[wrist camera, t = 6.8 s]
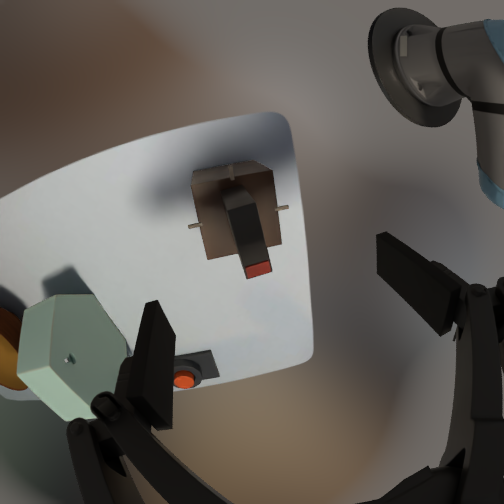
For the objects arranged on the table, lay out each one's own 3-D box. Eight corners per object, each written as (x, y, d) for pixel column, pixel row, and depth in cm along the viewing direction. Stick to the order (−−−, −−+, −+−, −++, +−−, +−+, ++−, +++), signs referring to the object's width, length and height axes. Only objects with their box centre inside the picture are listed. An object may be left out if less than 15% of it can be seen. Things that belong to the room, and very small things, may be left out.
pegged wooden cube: (260, 150, 35) (282, 157, 26) (270, 222, 40) (293, 252, 30) (183, 164, 34) (176, 177, 25) (199, 237, 39) (199, 272, 29)
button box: (210, 349, 47) (211, 359, 45) (219, 374, 50) (220, 383, 48) (147, 360, 46) (146, 369, 44) (160, 383, 49) (160, 393, 47)
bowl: (63, 347, 42) (47, 385, 33) (18, 362, 42) (2, 393, 33) (10, 272, 34) (-19, 303, 25) (-29, 299, 34) (-52, 327, 25)
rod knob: (220, 190, 26) (227, 211, 20) (242, 184, 27) (256, 203, 20) (235, 246, 29) (247, 281, 23) (256, 239, 29) (273, 273, 23)
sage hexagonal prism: (79, 306, 44) (-3, 311, 24) (110, 293, 44) (27, 293, 24) (111, 392, 42) (43, 435, 22) (144, 384, 42) (80, 433, 22)
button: (190, 368, 46) (190, 374, 44) (196, 380, 47) (196, 387, 46) (171, 371, 45) (171, 377, 44) (177, 383, 47) (177, 389, 46)
